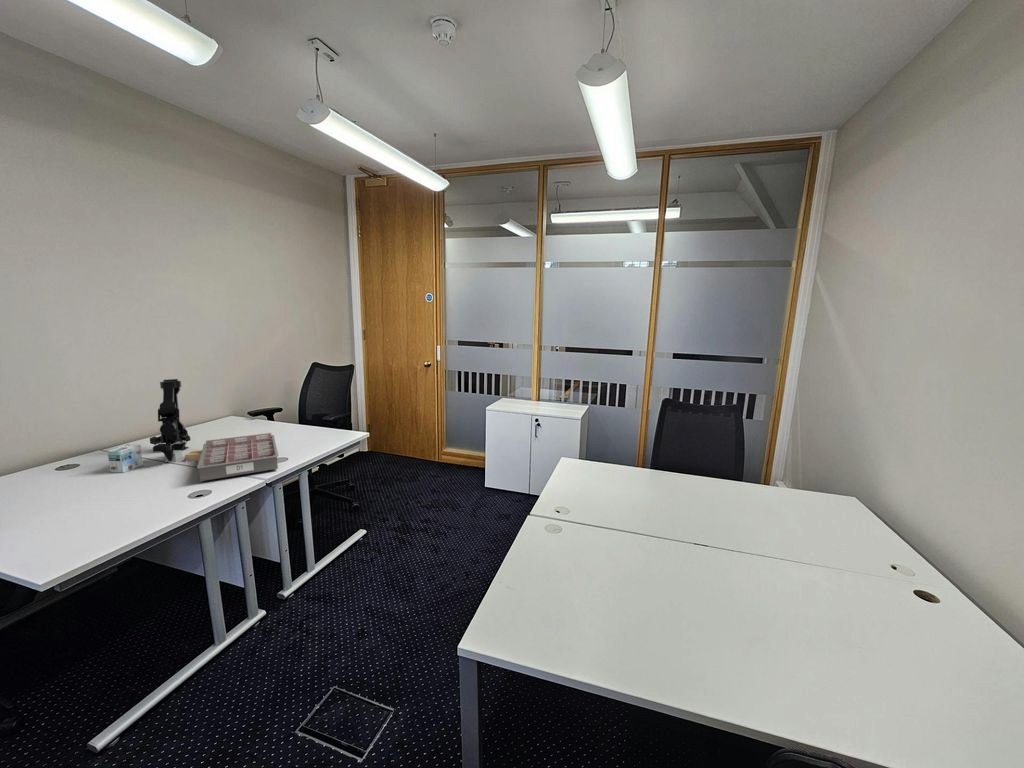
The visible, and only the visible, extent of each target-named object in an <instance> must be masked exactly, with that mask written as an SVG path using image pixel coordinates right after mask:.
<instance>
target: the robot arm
mask: <svg viewBox="0 0 1024 768" xmlns="http://www.w3.org/2000/svg"><path fill="white" fill-rule="evenodd" d="M159 386H160V389H162V391H163V394H162V395H163V396H162V397H163V399H162V402H160V404H159V408H158V409H157V422H161V425H160V427H159V432H160V435H159V436H152V437H150V438H149V443H150V444H152V445H153V446H152V451H153V452H161V453H162V454H164V457H165V456H166V458H167V459H168V461H172V457H173V451H174V450H182V452H183V451H184V450H186V449H189V446H186V445H187V444H188V442H190V441H191V436H190V435H189V433H188V430H187V429H186V428H185V424H183V423H182V421H181V420H180V408H179V400H178V394H179V393H180V391H181V388H182V381H181V380H179V379H178V378H171V379H163V381H159Z"/></svg>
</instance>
